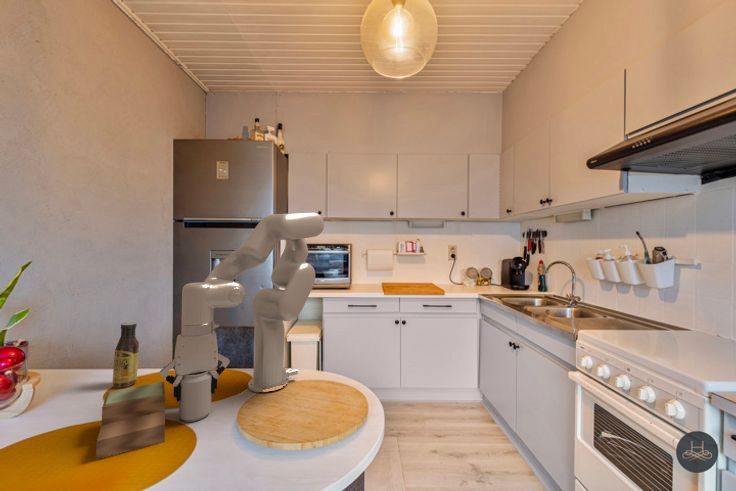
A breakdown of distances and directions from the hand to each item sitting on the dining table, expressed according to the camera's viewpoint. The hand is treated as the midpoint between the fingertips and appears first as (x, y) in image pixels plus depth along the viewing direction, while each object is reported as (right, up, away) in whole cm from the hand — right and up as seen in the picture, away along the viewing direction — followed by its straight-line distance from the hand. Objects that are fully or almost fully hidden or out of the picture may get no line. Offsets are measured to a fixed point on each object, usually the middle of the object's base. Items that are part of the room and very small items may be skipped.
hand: (195, 395), depth 83 cm
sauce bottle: (-33, -5, +18) cm, 38 cm away
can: (0, -6, 0) cm, 6 cm away
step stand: (-10, -5, -8) cm, 14 cm away
